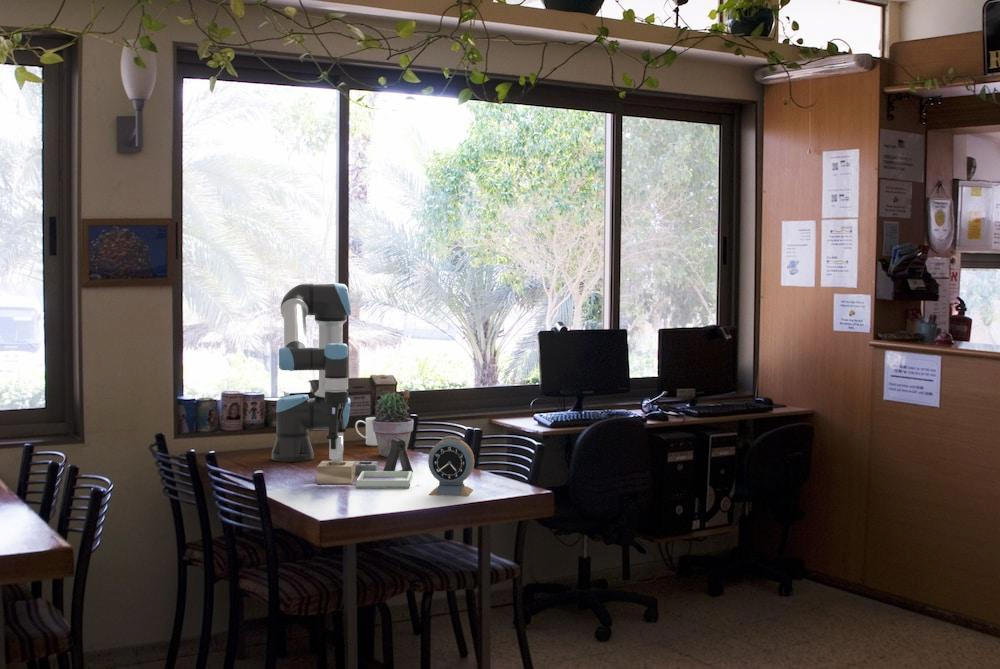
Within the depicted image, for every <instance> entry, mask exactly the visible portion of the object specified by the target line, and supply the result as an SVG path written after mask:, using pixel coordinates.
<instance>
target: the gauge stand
mask: <svg viewBox="0 0 1000 669" xmlns="http://www.w3.org/2000/svg"><path fill="white" fill-rule="evenodd" d="M354 461H355V476H358V475H360V474H361V472H362V471H379V460H368V461H367V460H366V461H365V460H361V461H360V460H354Z"/></svg>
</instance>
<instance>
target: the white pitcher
mask: <svg viewBox="0 0 1000 669" xmlns="http://www.w3.org/2000/svg"><path fill="white" fill-rule="evenodd" d="M373 419H376V418H375V417H371V416H368V417H365V420H362V419H361V420H360V419H359V420H357V421H356V422H355V425H354V427H355V430H356V433H357V434H358V435H360V437H362V438H363V439H365V444H366V445H367V446H370V447H371V446H373V447H374V446H375V447H378V444H377V440H376V435H375V432H374V431H373V424H372V420H373ZM359 423H363V424H365V435H363V434H362V433H360V431H359V429H358V424H359Z"/></svg>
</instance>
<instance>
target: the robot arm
mask: <svg viewBox="0 0 1000 669" xmlns="http://www.w3.org/2000/svg"><path fill="white" fill-rule="evenodd" d="M349 294H350V293H349V289H348V286H347V285H346V284H345V283H336V282H327V283H326V282H325V283H323V282H321V283H319V282H318V283H316V282H315V283H314V282H313V283H311V282H310V283H307V282H305V283H300V284H298V285H296V286H294V287H292V288H291V289H290V290H289V291H287V293H286V294H285V295H284V296H283V298H282V300H281V304H280V314H281V316H282V318H283V337H284V338H283V339H284V341H283V342H284V343H283V344H284V347H281V348H279V350H278V368H279V369H280V370H281V371H289V372H293V371H318V389H317V390H316V391H315V392H314V397H312V398H310V397H309V394H305V393H303V394H294V395H287V396H283V397H280V398H279V399H278V400H277V401H276V409H275V413H276V438H275V439H276V440H275V442H274V444H273V448H272V451H271V460H272V461H276V462H281V463H282V462H286V463H289V462H290V463H294V462H306V461H312V460H314V454H315V452H314V449H313V447H312V443H311V441H310V437H309V436H310V434H309V433H310V432H309V431H317V430H318V431H319V430H320V431H321V430H322V431H324V430H328V435H326V439H327V440H329V442H328V444H329V446H328V447H329V448H328V450H329V451H328V452H329V453H328V454H329V456H328V459H329V460H332V459H338V439H337V438H338V436H343V437H344V433H346V430H347V429H346V427H347V426H348V425H349V424H348V423H349V418H350V412H351V398H350V397H349V392H348V391H347V390H349V372H348V371H349V348H348V344H347V343H343V342H344V340H343V333H344V332H343V331H344V330H343V327H344V326H343V325H344V324H345V323H346V322H347V320H348V317H349V316H351V315H352V312H351V302H350V301H351V299H350V295H349ZM307 316H313V317H314V321H315V322H316V324H318V347H308V340H307V339H308V338H307V321H306V320H307V318H306V317H307Z"/></svg>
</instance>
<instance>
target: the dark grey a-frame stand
mask: <svg viewBox="0 0 1000 669" xmlns="http://www.w3.org/2000/svg"><path fill="white" fill-rule="evenodd" d="M398 455H399V457H398ZM386 458H387V459H386V462H385V464H384V468H383V470H382V471H396V468H397V467H396V466H397V463H398V458H399V462H400V466H401V471H412V473H414V471H413V467H412V465H411V462H410V459H409V456H408V452H406V450H405V442H404V441H403V440H401V439H398V438H396V439H395V438H393V439H392V441H391V449H390V452H389V455H388V457H386Z"/></svg>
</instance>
